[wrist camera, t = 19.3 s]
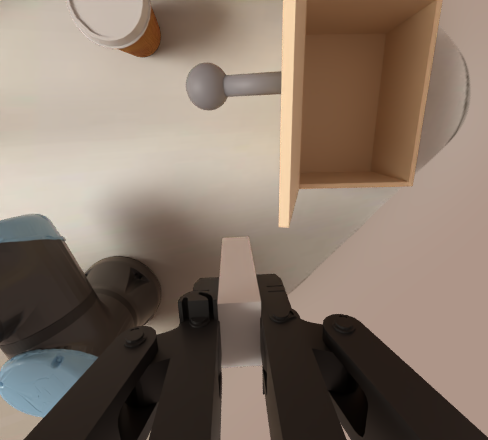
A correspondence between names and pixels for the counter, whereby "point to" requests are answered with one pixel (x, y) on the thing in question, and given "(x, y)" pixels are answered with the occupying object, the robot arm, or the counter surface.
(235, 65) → the counter surface
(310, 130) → the carton
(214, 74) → the lid flap
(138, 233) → the counter surface
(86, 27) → the disposable coffee cup
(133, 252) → the counter surface
